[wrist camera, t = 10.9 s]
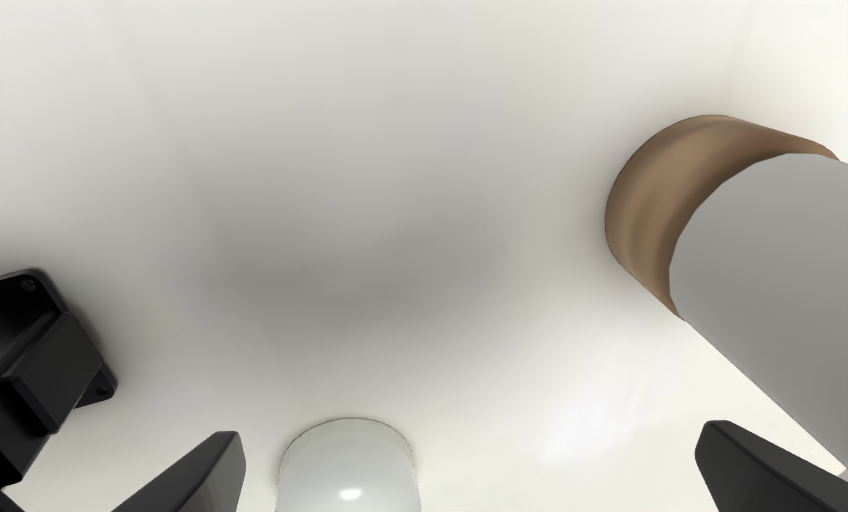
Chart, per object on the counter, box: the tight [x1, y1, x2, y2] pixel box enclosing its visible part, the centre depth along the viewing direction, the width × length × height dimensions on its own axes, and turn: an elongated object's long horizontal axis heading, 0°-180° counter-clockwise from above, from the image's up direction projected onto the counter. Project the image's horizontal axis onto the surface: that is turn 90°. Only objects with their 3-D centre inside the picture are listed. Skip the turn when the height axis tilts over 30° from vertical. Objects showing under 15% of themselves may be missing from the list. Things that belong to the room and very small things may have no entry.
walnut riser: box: [605, 115, 840, 321], centre depth 22 cm, size 8×8×4 cm
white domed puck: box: [275, 418, 421, 512], centre depth 26 cm, size 7×7×3 cm
